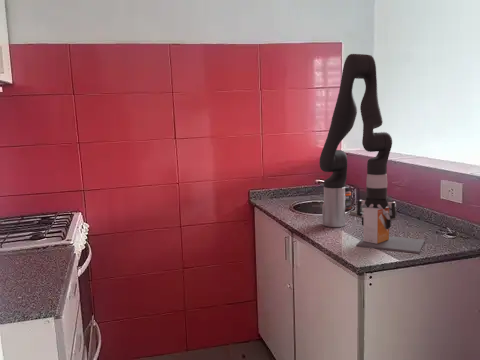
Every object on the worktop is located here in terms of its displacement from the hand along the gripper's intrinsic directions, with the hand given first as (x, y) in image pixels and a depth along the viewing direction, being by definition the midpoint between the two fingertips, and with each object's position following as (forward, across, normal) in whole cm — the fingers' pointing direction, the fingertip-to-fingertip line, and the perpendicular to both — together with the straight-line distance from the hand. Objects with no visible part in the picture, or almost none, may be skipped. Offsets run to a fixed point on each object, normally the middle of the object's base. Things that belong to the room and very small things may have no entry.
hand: (376, 227), depth 171 cm
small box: (+5, 0, 0) cm, 5 cm away
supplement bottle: (+6, -28, +55) cm, 62 cm away
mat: (+6, +6, 0) cm, 8 cm away
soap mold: (+6, -11, +42) cm, 44 cm away
